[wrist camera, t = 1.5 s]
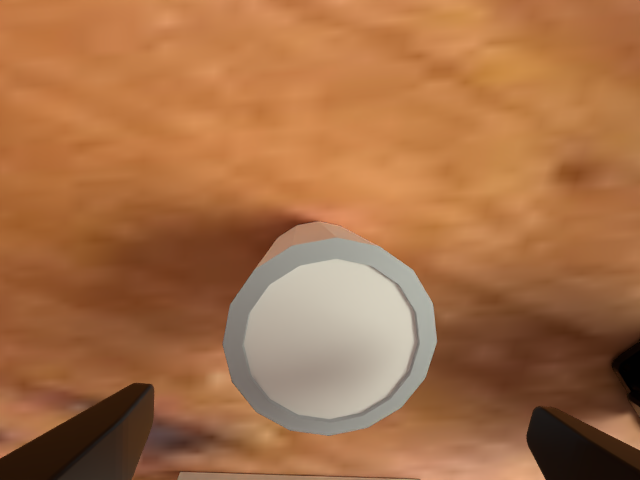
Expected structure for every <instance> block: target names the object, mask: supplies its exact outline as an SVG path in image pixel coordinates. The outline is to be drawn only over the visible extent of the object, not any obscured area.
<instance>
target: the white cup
mask: <svg viewBox="0 0 640 480" xmlns="http://www.w3.org/2000/svg"><path fill="white" fill-rule="evenodd" d="M436 343H437V336H436V327H435V317H434V308H433V303H432V301H431V299H430V298H429V296H428V294H427V293H426V291H425V289H424V288H423V286H422V284H421V282H420V281H419V279H418V277H417V276H416V274H415V272H414V271H413V270H412V269H411V268H409V267H408V266H407V265H405V264H404V263H402V262H401V261H400V260H398V259H397V258H395V257H394V256H392V255H391V254H390V253H388V252H387V251H385V250H384V249H382V248H381V247H380V246H378V245H376V244H374V243H372V242H370V241H368V240H366V239H364V238H362V237H361V236H359V235H357V234H355V233H353V232H351V231H349V230H347V229H345V228H343V227H342V226H339V225H334V224H329V223H325V222H320V221H317V222H312V223H306V224H301V225H296V226H295V227H293V228H292V229H290V230H288V231H287V232H285V233H284V234H282V235H281V236H279V237H278V238H277V239H276V241H275V242H274V243H273V245H272V246H271V248H270V249H269V250H268V252H267V253H266V254H265V256H264V257H263V259H262V260H261V261H260V263H259V264H258V265H257V267H256V268H255V270H254V271H253V272H252V274H251V275H250V277H249V278H248V280H247V281H246V282H245V284H244V285H243V287H242V288H241V290H240V291H239V293H238V294H237V295H236V297H235V298H234V300H233V301H232V303H231V304H230V308H229V313H228V318H227V324H226V329H225V334H224V340H223V348H224V352H225V356H226V360H227V364H228V368H229V372H230V375H231V379H232V382H233V384H234V385H235V386H236V387H237V389H238V390H239V391H240V392H241V394H242V395H243V396H244V397H245V399H246V400H247V401H248V402H249V404H250V405H251V406H252V407H253V409H254V410H255V411H256V412H257V413H259V414H261V415H263V416H265V417H266V418H268V419H270V420H272V421H274V422H276V423H277V424H279V425H281V426H283V427H285V428H287V429H288V430H291V431H298V432H305V433H312V434H320V435H327V436H330V435H335V434H340V433H345V432H350V431H354V430H359V429H364V428H368V427H370V426H371V425H373V424H375V423H376V422H378V421H380V420H381V419H383V418H385V417H386V416H388V415H390V414H392V413H393V412H395V411H397V410H398V409H400V408H401V407H402V406H403V405H404V404H405V402H406V401H407V400H408V399H409V398H410V396H411V395H412V394H413V393H414V391H415V390H416V389H417V388H418V386H419V385H420V384H421V383H422V382H423V380H424V379H425V378H426V375H427V372H428V369H429V365H430V362H431V359H432V356H433V353H434V350H435V346H436Z"/></svg>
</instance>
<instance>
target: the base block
mask: <svg viewBox="0 0 640 480" xmlns="http://www.w3.org/2000/svg"><path fill="white" fill-rule="evenodd" d="M177 480H421V479H390V478H359V477H327V476H296V475H265V474H233V473H202V472H180V474H179V476H178V479H177Z"/></svg>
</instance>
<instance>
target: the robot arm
mask: <svg viewBox="0 0 640 480" xmlns="http://www.w3.org/2000/svg"><path fill="white" fill-rule="evenodd" d="M612 368H613V370H614V371H615V373H616V375H617V376H618V378H619V379H620V381H621V382H622V384H623V386H624V387H625V389H626V390H627V392H628V394H627V396H628V400H629V402H630V403H631V405H632V407H633V408H634V410H635V411H636V413H637V414H638V416H639V417H640V342H639V343H637V344H636V345H634V346H633V347H631V348H630V349H629V350H627V351H626V352H624V353H623V354H621V355H620V356H619V357H617V358H616V359H615V360H614V361H613V363H612ZM153 418H154V387H153V385H152V384H145V383H133V384H131V385H129V386H127V387H125V388H124V389H122V390H120V391H118V392H117V393H115V394H113V395H111V396H110V397H108V398H106V399H104V400H103V401H101V402H99V403H97V404H96V405H94V406H92V407H90V408H89V409H87V410H85V411H83V412H81V413H80V414H78V415H76V416H74V417H73V418H71V419H69V420H67V421H66V422H64V423H62V424H60V425H59V426H57V427H55V428H53V429H52V430H50V431H48V432H46V433H44V434H43V435H41V436H39V437H37V438H36V439H34V440H32V441H30V442H29V443H27V444H25V445H23V446H22V447H20V448H18V449H16V450H15V451H13V452H11V453H9V454H7V455H6V456H4V457H2V458H0V480H132V477H133V474H134V472H135V469H136V467H137V464H138V461H139V459H140V456H141V454H142V451H143V448H144V446H145V443H146V441H147V438H148V435H149V433H150V430H151V427H152V423H153ZM527 443H528V446H529V448H530V450H531V452H532V454H533V456H534V458H535V460H536V462H537V464H538V466H539V468H540V470H541V472H542V473H543V475H544V477H545V479H546V480H640V450H638V449H636V448H634V447H632V446H630V445H628V444H626V443H624V442H622V441H620V440H618V439H616V438H614V437H612V436H610V435H608V434H606V433H604V432H602V431H600V430H598V429H596V428H594V427H592V426H590V425H588V424H586V423H584V422H582V421H580V420H578V419H576V418H574V417H572V416H570V415H568V414H566V413H564V412H562V411H560V410H558V409H556V408H554V407H543V406H538V407H536V408H535V409H534V410H533V413H532V417H531V420H530V424H529V427H528V431H527Z"/></svg>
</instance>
